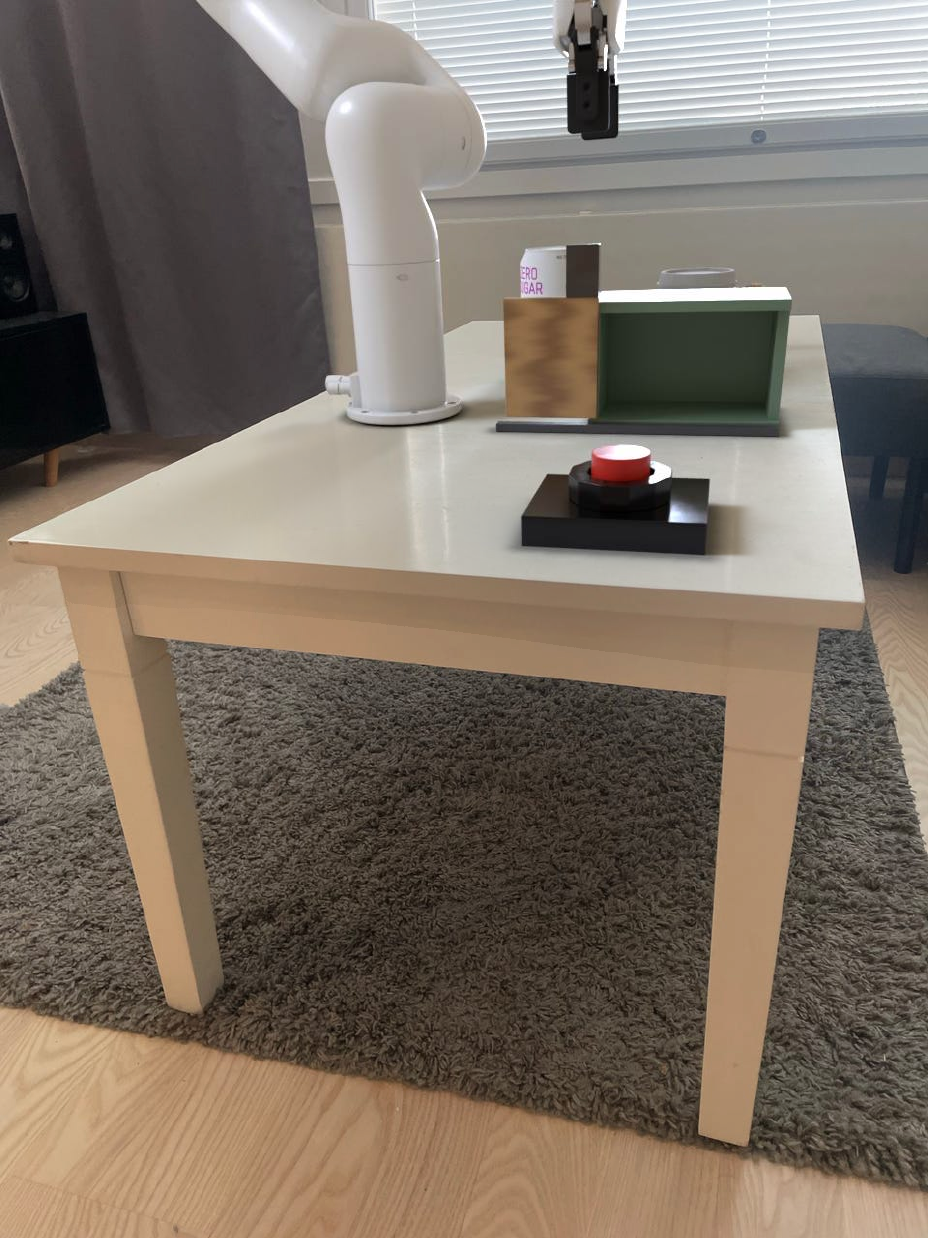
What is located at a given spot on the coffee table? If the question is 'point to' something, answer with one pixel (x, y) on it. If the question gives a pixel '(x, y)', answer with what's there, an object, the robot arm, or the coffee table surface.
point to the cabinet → (686, 363)
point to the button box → (619, 513)
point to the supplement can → (543, 272)
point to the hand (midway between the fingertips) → (594, 135)
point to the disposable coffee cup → (697, 278)
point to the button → (620, 463)
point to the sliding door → (556, 344)
